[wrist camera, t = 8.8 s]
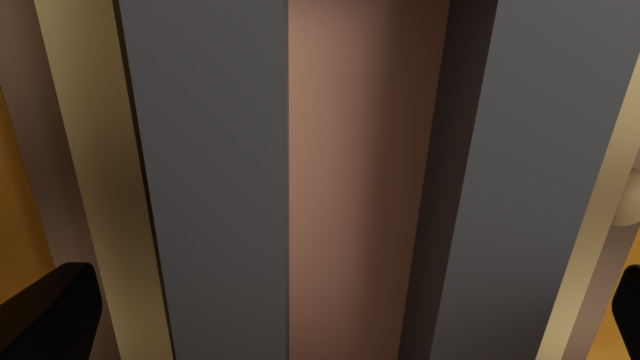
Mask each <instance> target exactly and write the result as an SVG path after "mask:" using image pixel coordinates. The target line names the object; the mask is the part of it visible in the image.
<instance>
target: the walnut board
mask: <svg viewBox="0 0 640 360" xmlns="http://www.w3.org/2000/svg"><path fill="white" fill-rule="evenodd" d="M0 85H1V88H2V92H3V95H4V98H5V102H6V105H7V108H8V112H9V115H10V119H11V122H12V125H13V129H14V132H15V135H16V139H17V142H18V145H19V149H20V152H21V156H22V159H23V162H24V166H25V169H26V172H27V176H28V179H29V182H30V186H31V189H32V193H33V196H34V199H35V203H36V206H37V209H38V213H39V216H40V219H41V223H42V226H43V229H44V233H45V236H46V240H47V243H48V246H49V250H50V253H51V256H52V260H53V263H54V266H55V268H57V267H58V266H60V265H62V264H63V263H66V262H89V263H91V264H92V265H93V267H94V269H95V272H96V276H97V280H98V284H99V288H100V292H101V296H102V303H103V306H102V314H101V318H100V321H99V325H98V328H97V332H96V336H95V339H94V343H93V346H92V350H91V354H90V357H89V360H176V355H175V349H174V342H173V336H172V330H171V324H170V317H169V311H168V305H167V299H166V292H165V286H164V280H163V274H162V267H161V261H160V255H159V249H158V242H157V236H156V230H155V224H154V217H153V211H152V205H151V199H150V193H149V186H148V180H147V174H146V168H145V161H144V155H143V149H142V143H141V136H140V130H139V124H138V118H137V111H136V105H135V99H134V93H133V86H132V80H131V74H130V68H129V61H128V55H127V49H126V43H125V36H124V30H123V24H122V18H121V11H120V5H119V0H0ZM639 226H640V53H639V56H638V59H637V62H636V65H635V68H634V71H633V74H632V77H631V80H630V83H629V86H628V89H627V92H626V95H625V98H624V101H623V103H622V106H621V109H620V112H619V115H618V118H617V121H616V124H615V127H614V130H613V133H612V136H611V139H610V142H609V145H608V148H607V151H606V153H605V156H604V159H603V162H602V165H601V168H600V171H599V174H598V177H597V180H596V183H595V186H594V189H593V192H592V195H591V198H590V201H589V203H588V206H587V209H586V212H585V215H584V218H583V221H582V224H581V227H580V230H579V233H578V236H577V239H576V242H575V245H574V248H573V251H572V253H571V256H570V259H569V262H568V265H567V268H566V271H565V274H564V277H563V280H562V283H561V286H560V289H559V292H558V295H557V298H556V301H555V303H554V306H553V309H552V312H551V315H550V318H549V321H548V324H547V327H546V330H545V333H544V336H543V339H542V342H541V345H540V348H539V351H538V353H537V356H536V359H535V360H586V357H587V355H588V352H589V350H590V347H591V345H592V343H593V340H594V338H595V335H596V333H597V330H598V328H599V325H600V323H601V320H602V318H603V315H604V313H605V310H606V308H607V305H608V303H609V300H610V298H611V295H612V293H613V290H614V288H615V285H616V283H617V281H618V278H619V276H620V273H621V271H622V268H623V266H624V263H625V261H626V258H627V256H628V253H629V251H630V248H631V246H632V243H633V241H634V238H635V236H636V233H637V231H638V228H639Z"/></svg>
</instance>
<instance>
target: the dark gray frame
mask: <svg viewBox="0 0 640 360" xmlns="http://www.w3.org/2000/svg"><path fill="white" fill-rule="evenodd" d="M119 5H120V11H121V18H122V24H123V30H124V36H125V43H126V49H127V55H128V61H129V68H130V74H131V80H132V86H133V93H134V99H135V105H136V111H137V118H138V124H139V130H140V136H141V143H142V149H143V155H144V161H145V168H146V174H147V180H148V186H149V193H150V199H151V205H152V211H153V217H154V224H155V230H156V236H157V242H158V249H159V255H160V261H161V267H162V274H163V280H164V286H165V292H166V299H167V305H168V311H169V317H170V324H171V330H172V336H173V342H174V349H175V355H176V360H535V359H536V356H537V353H538V351H539V348H540V345H541V342H542V339H543V336H544V333H545V330H546V327H547V324H548V321H549V318H550V315H551V312H552V309H553V306H554V303H555V301H556V298H557V295H558V292H559V289H560V286H561V283H562V280H563V277H564V274H565V271H566V268H567V265H568V262H569V259H570V256H571V253H572V251H573V248H574V245H575V242H576V239H577V236H578V233H579V230H580V227H581V224H582V221H583V218H584V215H585V212H586V209H587V206H588V203H589V201H590V198H591V195H592V192H593V189H594V186H595V183H596V180H597V177H598V174H599V171H600V168H601V165H602V162H603V159H604V156H605V153H606V151H607V148H608V145H609V142H610V139H611V136H612V133H613V130H614V127H615V124H616V121H617V118H618V115H619V112H620V109H621V106H622V103H623V101H624V98H625V95H626V92H627V89H628V86H629V83H630V80H631V77H632V74H633V71H634V68H635V65H636V62H637V59H638V56H639V53H640V0H119Z"/></svg>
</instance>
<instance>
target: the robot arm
mask: <svg viewBox="0 0 640 360" xmlns="http://www.w3.org/2000/svg"><path fill="white" fill-rule="evenodd" d="M102 306H103V303H102V296H101V292H100V288H99V284H98V280H97V276H96V272H95V269H94V267H93V265H92V264H91V263H89V262H66V263H63V264H62V265H60V266H58V267H57V268H55V269H54V270H52V271H51V272H49V273H48V274H46V275H45V276H43V277H42V278H40V279H39V280H37V281H36V282H34V283H33V284H31V285H30V286H28V287H27V288H25V289H24V290H22V291H21V292H19V293H18V294H16V295H15V296H13V297H12V298H10V299H9V300H7V301H6V302H4V303H2V304H1V305H0V360H89V357H90V354H91V350H92V346H93V343H94V339H95V336H96V332H97V328H98V325H99V321H100V318H101V314H102ZM612 313H613V316H614V319H615V321H616V324H617V326H618V329H619V331H620V334H621V336H622V339H623V341H624V344H625V346H626V349H627V351H628V354H629V356H630V359H631V360H640V265H638V264H634V265H630V266H628V267H627V268H626V269H625V270H624V272H623V275H622V277H621V280H620V282H619V285H618V287H617V289H616V292H615V294H614V297H613V300H612Z"/></svg>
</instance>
